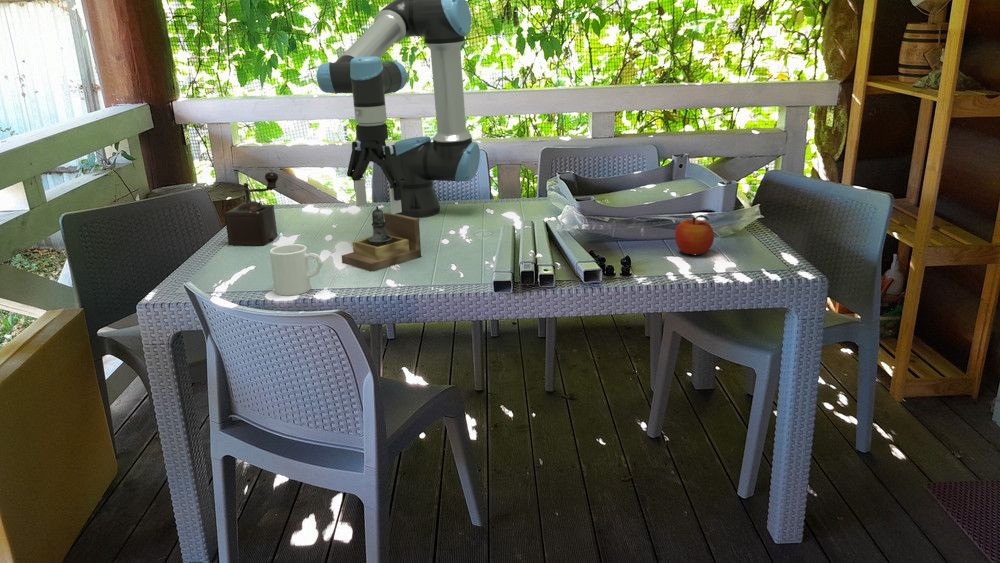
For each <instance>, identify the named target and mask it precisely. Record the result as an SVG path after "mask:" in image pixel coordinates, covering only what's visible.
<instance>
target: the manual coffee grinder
mask: <svg viewBox="0 0 1000 563" xmlns="http://www.w3.org/2000/svg"><path fill="white" fill-rule="evenodd" d="M264 179H265V181H266V183H267V185H266V188H249V183H247V182H244V183H243V192H244V194H245V198H246V200H245V202H242V203H241V204H238V206H236V207H234V208H232V209H230V210H228V211H226V212H224V219H225V226H226V234H227V240H228V246H229V245H233V246H232V247H264V246H266V245H268V244H269V243H271V242H273V241H274V240H275V239H276V238H277V237H278V236H279V234H278V230H277V228H278V227H277V221H276V213H275V205H274V204H263V203H262V202H261V201H256V200H253V201H252V200H251V198H250V197H251V196H250V193H255V192H256V193H261V192H262V193H264V192H267V191H272V190H274V189H277V181H278V180H279V174H277V173H276V172H271V171H269V172H266V173H265V174H264Z"/></svg>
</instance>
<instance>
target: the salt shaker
mask: <svg viewBox="0 0 1000 563" xmlns="http://www.w3.org/2000/svg"><path fill="white" fill-rule="evenodd" d="M384 213H385V212H384V211H383V210H382V209H380V208H379V206H378V205H377V206H376V207H375V209H374V210H372V212H371V218H372V223H371V226H372V231H373V233H372V236H370V238H369V237H368V238H369V239H368V240H369V241H370V244H371V245H373V246H376V247H380V246H383V245H387V244H390V242H391V239H392V237H391V236H389V235H387V234H386V231H385V224H386V223H385V222H384Z"/></svg>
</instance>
